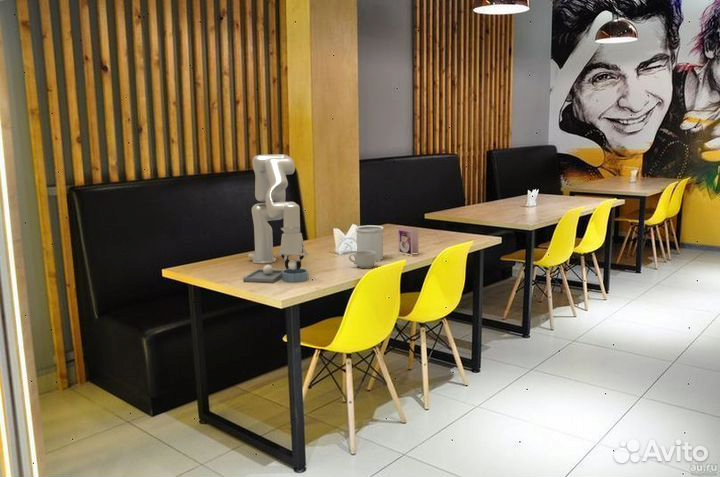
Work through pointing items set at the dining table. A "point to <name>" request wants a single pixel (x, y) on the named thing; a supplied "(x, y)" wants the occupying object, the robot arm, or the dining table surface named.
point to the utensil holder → (370, 239)
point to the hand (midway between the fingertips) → (293, 268)
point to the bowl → (295, 275)
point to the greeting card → (408, 240)
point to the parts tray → (263, 276)
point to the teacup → (364, 258)
